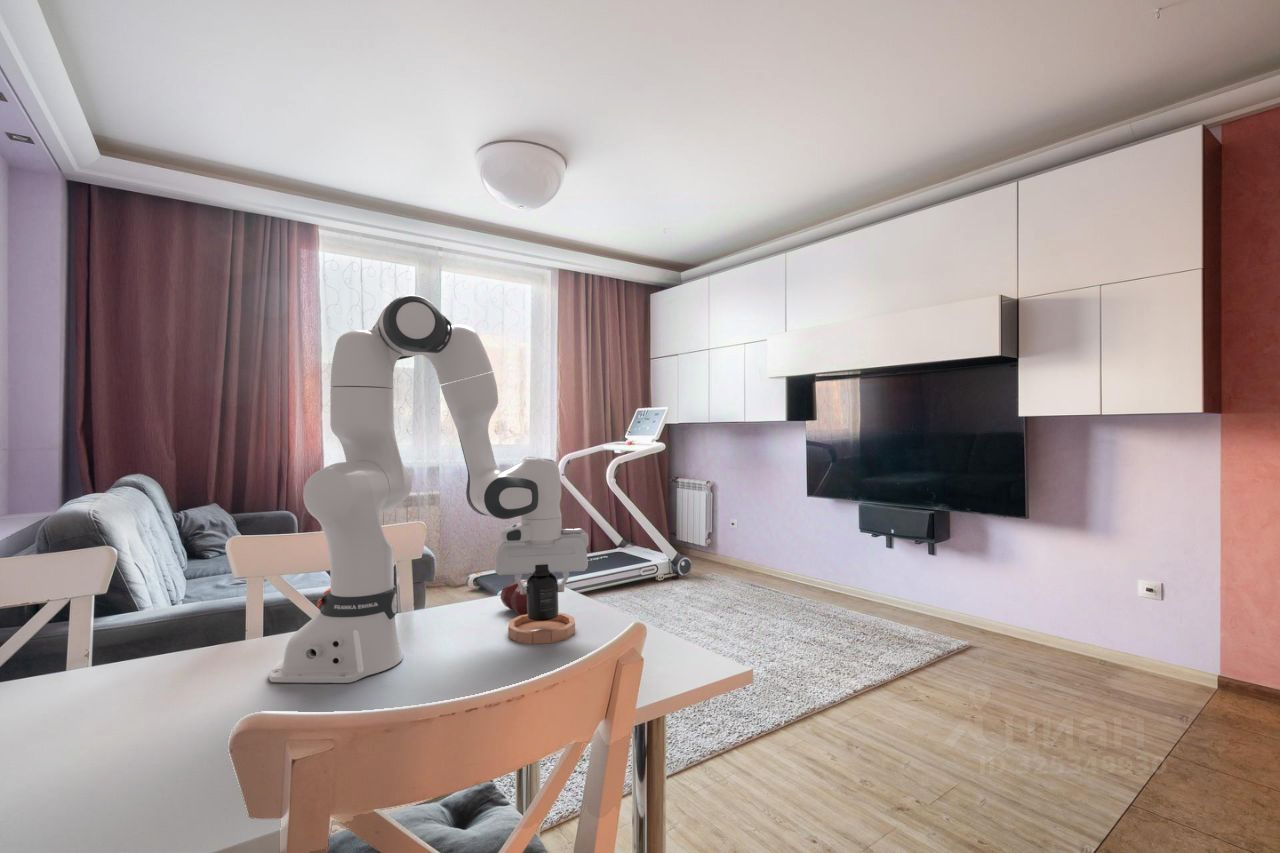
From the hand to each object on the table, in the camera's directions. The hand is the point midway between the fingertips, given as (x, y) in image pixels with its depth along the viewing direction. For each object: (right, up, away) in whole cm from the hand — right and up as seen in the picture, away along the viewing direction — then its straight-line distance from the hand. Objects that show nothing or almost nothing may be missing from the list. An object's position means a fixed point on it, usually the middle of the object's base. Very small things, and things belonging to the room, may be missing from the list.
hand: (542, 592), depth 133 cm
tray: (0, -9, 0) cm, 9 cm away
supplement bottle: (0, -6, 0) cm, 6 cm away
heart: (-7, -9, +15) cm, 19 cm away
